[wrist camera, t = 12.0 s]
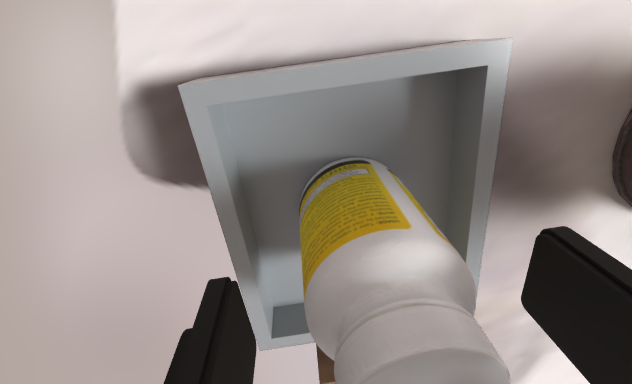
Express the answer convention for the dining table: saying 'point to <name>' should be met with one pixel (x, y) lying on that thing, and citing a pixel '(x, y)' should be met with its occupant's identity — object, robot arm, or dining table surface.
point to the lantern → (624, 161)
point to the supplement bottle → (387, 284)
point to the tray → (345, 154)
